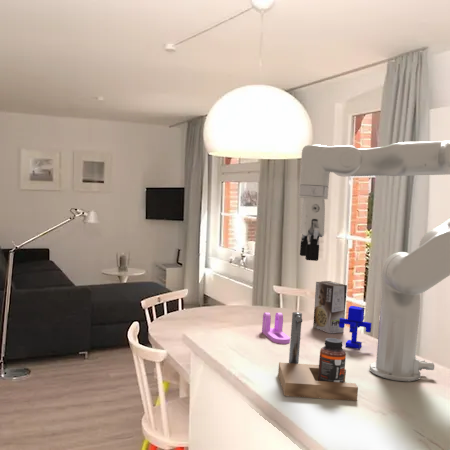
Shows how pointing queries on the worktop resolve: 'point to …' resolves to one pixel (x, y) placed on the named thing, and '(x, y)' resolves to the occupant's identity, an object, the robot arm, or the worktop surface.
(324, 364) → the supplement bottle
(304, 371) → the bay shelf
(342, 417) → the worktop surface
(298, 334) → the hook post
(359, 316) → the figurine
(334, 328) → the coffee box
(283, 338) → the bracket
